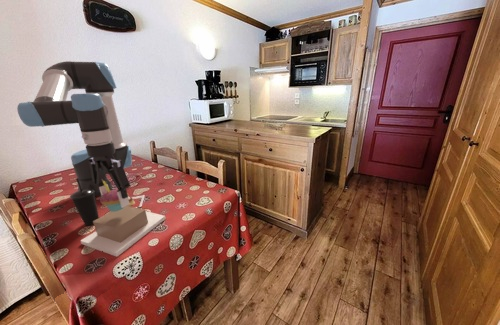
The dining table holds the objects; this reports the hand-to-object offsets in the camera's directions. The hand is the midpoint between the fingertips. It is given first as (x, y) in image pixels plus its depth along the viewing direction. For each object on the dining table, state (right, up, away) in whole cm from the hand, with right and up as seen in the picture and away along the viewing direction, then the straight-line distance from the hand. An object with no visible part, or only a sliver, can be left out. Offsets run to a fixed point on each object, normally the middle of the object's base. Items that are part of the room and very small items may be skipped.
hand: (116, 203), depth 74 cm
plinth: (+1, -11, +5) cm, 13 cm away
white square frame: (-9, -6, +25) cm, 27 cm away
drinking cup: (-17, -10, +11) cm, 23 cm away
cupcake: (0, -2, +1) cm, 2 cm away
